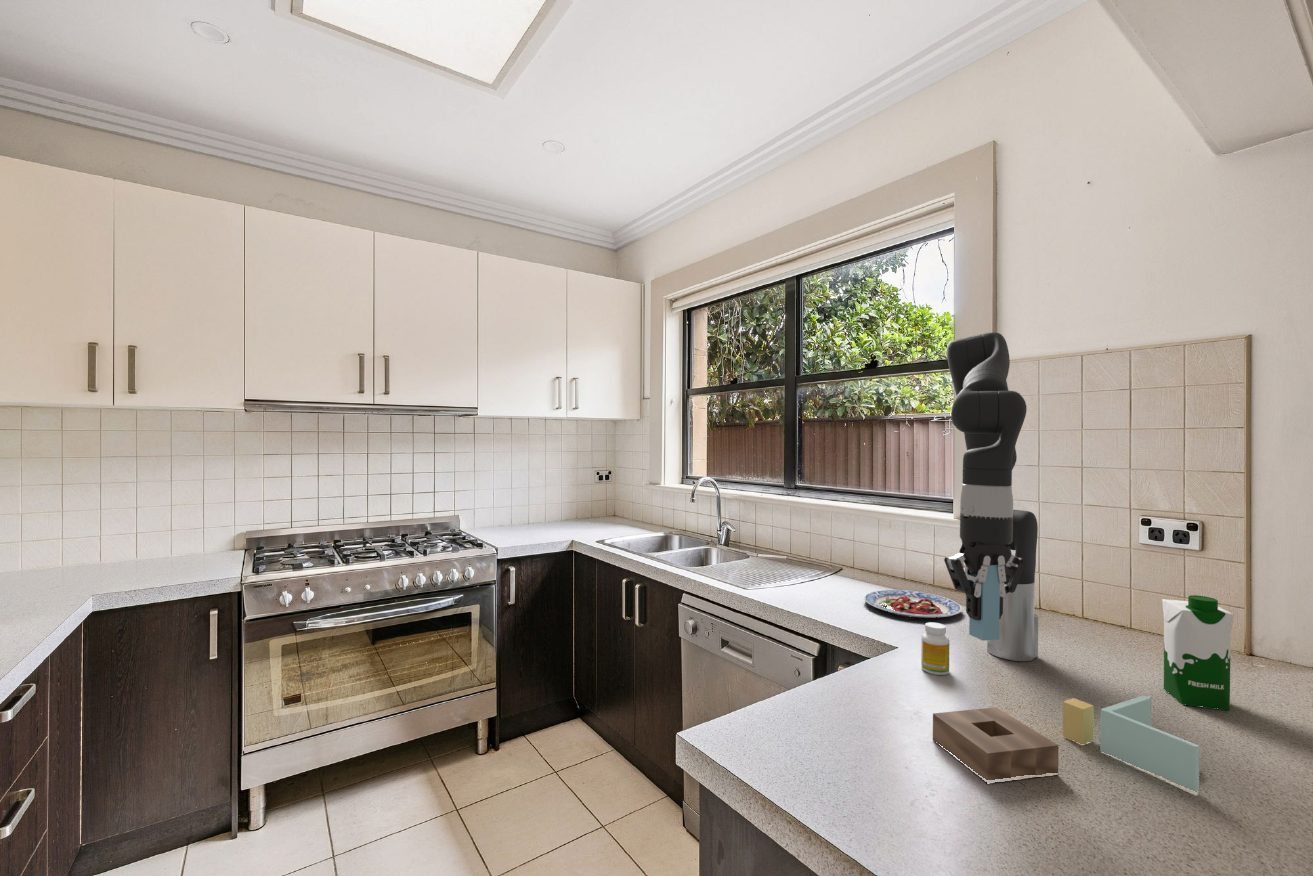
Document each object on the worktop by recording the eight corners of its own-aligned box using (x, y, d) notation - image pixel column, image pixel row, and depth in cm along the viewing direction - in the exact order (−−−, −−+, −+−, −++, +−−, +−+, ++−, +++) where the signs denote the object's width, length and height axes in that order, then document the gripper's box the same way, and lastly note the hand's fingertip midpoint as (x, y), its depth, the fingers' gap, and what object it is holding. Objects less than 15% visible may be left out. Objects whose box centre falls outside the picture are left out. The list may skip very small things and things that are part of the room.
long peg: (985, 633, 95) (986, 561, 96) (999, 639, 93) (1000, 565, 93) (969, 634, 95) (970, 561, 95) (982, 640, 92) (983, 565, 92)
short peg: (1073, 733, 97) (1073, 698, 97) (1093, 741, 95) (1093, 705, 94) (1062, 737, 96) (1063, 701, 96) (1082, 746, 93) (1082, 709, 93)
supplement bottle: (952, 676, 120) (953, 630, 120) (924, 674, 121) (925, 628, 121) (945, 666, 125) (945, 622, 125) (918, 664, 126) (918, 620, 126)
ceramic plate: (965, 605, 170) (965, 595, 170) (957, 630, 148) (957, 619, 148) (874, 592, 184) (874, 583, 184) (854, 613, 162) (854, 603, 162)
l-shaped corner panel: (1195, 800, 80) (1196, 747, 80) (1100, 756, 91) (1100, 709, 91) (1238, 779, 85) (1239, 729, 85) (1143, 739, 96) (1143, 695, 96)
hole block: (996, 733, 97) (996, 707, 97) (1058, 775, 85) (1058, 745, 85) (932, 740, 95) (932, 713, 95) (987, 784, 83) (987, 753, 83)
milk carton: (1179, 706, 107) (1180, 599, 107) (1155, 686, 115) (1156, 587, 115) (1239, 714, 104) (1240, 604, 104) (1210, 693, 112) (1211, 591, 112)
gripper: (1006, 510, 99) (1004, 611, 99) (932, 509, 97) (930, 613, 96) (1042, 515, 91) (1040, 624, 91) (963, 515, 89) (961, 627, 89)
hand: (984, 618), depth 94 cm, fingers closed on long peg, 3 cm apart
